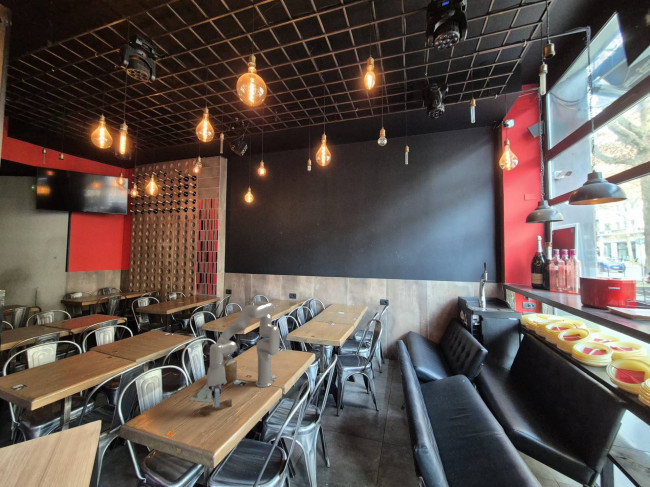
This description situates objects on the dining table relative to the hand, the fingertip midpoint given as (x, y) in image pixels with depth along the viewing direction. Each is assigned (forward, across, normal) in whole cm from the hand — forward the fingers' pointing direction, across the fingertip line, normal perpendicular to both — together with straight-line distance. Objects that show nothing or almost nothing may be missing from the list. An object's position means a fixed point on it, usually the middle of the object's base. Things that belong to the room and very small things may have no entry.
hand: (216, 395), depth 157 cm
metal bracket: (+9, +3, -21) cm, 23 cm away
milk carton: (+9, -13, -36) cm, 39 cm away
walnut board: (+9, 0, 0) cm, 9 cm away
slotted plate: (+4, 0, 0) cm, 4 cm away
